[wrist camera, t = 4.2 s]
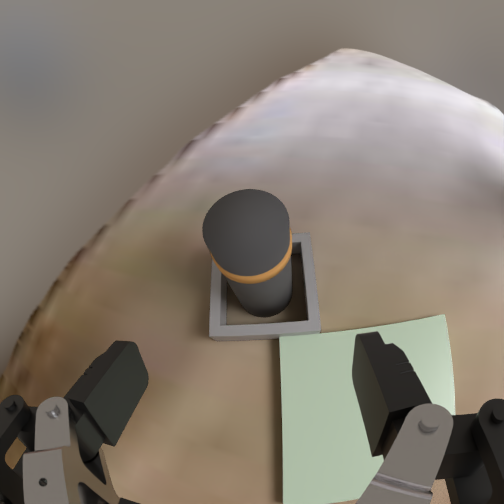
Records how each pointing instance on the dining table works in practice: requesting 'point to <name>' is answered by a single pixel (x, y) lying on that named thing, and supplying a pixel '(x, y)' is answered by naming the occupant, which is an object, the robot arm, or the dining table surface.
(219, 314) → the gray square frame
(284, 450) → the pale green square mat
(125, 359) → the robot arm
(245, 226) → the orange-banded dark cylinder
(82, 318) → the dining table surface
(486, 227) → the dining table surface
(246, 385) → the dining table surface
